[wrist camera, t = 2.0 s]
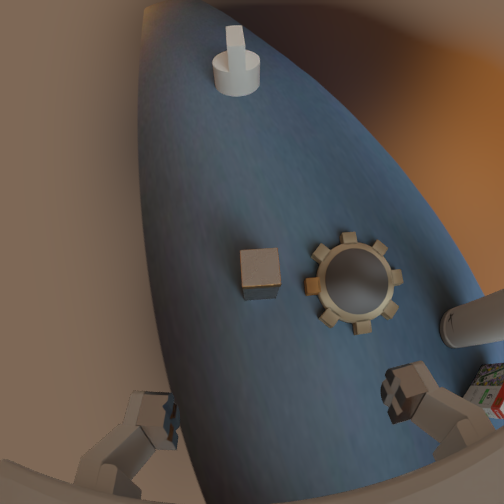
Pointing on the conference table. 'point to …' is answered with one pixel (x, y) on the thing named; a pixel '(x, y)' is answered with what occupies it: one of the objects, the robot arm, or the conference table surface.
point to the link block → (260, 273)
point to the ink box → (488, 390)
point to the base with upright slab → (236, 66)
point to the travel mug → (474, 322)
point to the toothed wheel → (354, 283)
